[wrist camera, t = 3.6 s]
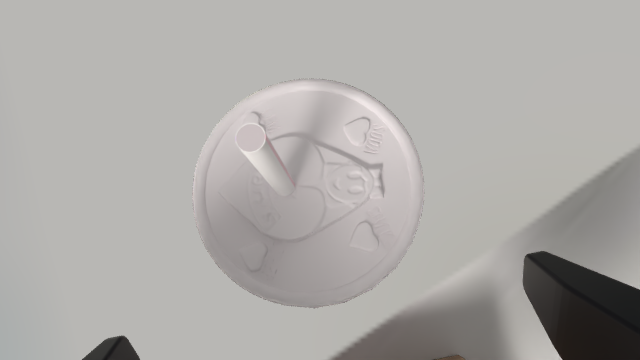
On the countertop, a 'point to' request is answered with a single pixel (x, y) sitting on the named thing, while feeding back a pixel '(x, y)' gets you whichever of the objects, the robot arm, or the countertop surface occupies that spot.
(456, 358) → the socket block
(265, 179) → the smoothie
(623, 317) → the robot arm
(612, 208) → the countertop surface
